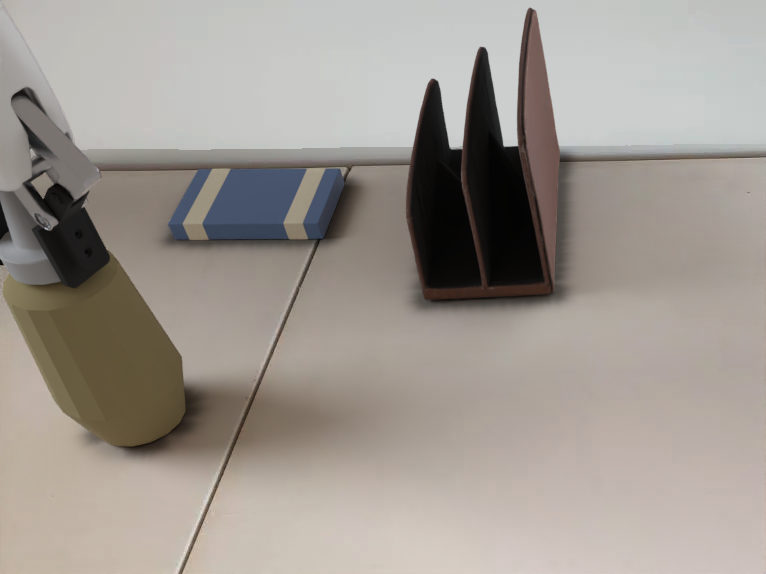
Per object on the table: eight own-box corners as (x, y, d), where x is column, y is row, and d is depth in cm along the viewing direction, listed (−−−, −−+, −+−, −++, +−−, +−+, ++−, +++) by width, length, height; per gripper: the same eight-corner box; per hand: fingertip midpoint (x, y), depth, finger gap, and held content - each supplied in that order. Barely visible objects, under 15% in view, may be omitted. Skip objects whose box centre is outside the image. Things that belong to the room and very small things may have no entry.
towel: (204, 184, 91) (198, 168, 90) (345, 184, 91) (340, 167, 90) (174, 240, 86) (167, 223, 85) (323, 239, 86) (318, 223, 85)
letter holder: (560, 156, 94) (539, -10, 83) (555, 297, 81) (530, 123, 71) (446, 161, 94) (409, -5, 83) (423, 303, 81) (376, 129, 70)
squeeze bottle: (53, 449, 71) (-109, 213, 57) (123, 370, 76) (-9, 135, 62) (162, 470, 70) (24, 234, 56) (226, 388, 75) (114, 153, 61)
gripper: (-342, -68, 49) (-106, 264, 63) (-66, -2, 45) (120, 337, 59) (-196, -125, 53) (-6, 197, 68) (67, -70, 49) (211, 261, 63)
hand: (51, 260), depth 63 cm, fingers closed on squeeze bottle, 4 cm apart
